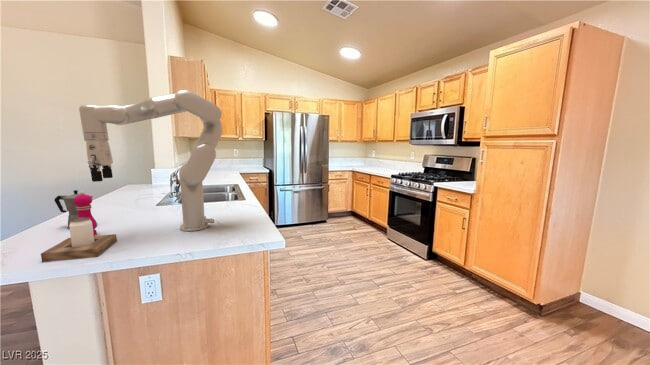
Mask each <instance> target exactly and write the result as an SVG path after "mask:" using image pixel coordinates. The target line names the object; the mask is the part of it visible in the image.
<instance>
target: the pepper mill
mask: <svg viewBox="0 0 650 365" xmlns="http://www.w3.org/2000/svg"><path fill="white" fill-rule="evenodd" d="M78 194H80V195H78V196H76V197H75V198H74V204H75V205H77V207H76V208H77V209H76V210H78V218H90V220H91V221H92V225H93V233H94V236H97V235H98V234H97V230H96V229H97V227H98V222H97V221H96V219H95V218H94V217H93V214H92V210H91V209H92V203H93V198H91V196H92V195H90V194H86V193H85V191H83V190H82V191H79V193H78Z"/></svg>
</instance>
